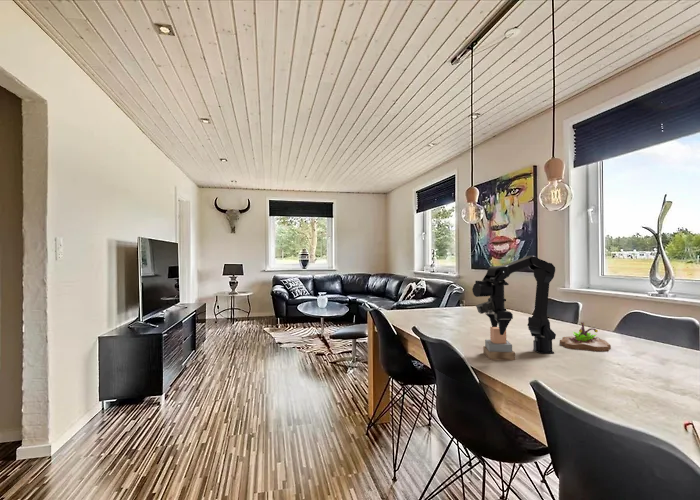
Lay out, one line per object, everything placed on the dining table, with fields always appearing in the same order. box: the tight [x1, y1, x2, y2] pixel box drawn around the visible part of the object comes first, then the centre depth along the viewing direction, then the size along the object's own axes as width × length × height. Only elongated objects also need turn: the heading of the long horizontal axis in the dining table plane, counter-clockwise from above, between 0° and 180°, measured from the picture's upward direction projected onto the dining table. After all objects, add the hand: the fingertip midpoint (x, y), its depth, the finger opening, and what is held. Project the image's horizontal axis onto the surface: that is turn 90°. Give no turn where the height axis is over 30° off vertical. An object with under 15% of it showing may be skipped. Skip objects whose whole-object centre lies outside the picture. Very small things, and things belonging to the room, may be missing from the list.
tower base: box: [482, 345, 516, 361], centre depth 151 cm, size 10×10×4 cm
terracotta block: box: [489, 326, 507, 344], centre depth 151 cm, size 5×5×6 cm
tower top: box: [484, 338, 513, 352], centre depth 151 cm, size 9×9×3 cm
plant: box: [559, 321, 612, 352], centre depth 168 cm, size 20×20×11 cm
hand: (497, 332), depth 151 cm, fingers open, 9 cm apart
